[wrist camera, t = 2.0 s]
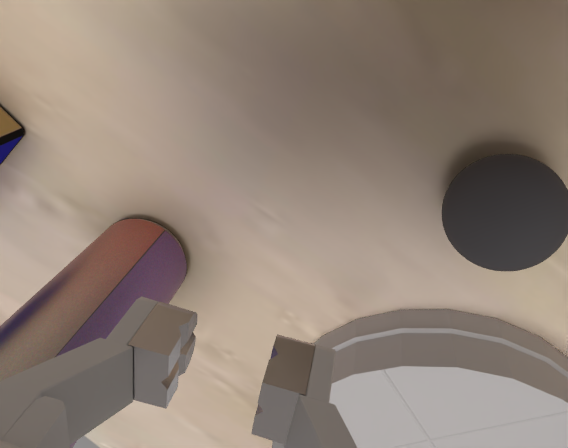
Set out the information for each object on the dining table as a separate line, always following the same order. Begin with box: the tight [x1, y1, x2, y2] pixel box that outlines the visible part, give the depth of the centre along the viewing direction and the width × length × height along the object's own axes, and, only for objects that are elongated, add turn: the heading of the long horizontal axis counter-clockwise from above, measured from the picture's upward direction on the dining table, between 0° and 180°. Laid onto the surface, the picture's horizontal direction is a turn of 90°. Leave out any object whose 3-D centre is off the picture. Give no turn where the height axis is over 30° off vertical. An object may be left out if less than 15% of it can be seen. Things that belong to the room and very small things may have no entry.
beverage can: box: [0, 219, 187, 448], centre depth 24 cm, size 6×6×15 cm
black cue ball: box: [442, 154, 568, 271], centre depth 21 cm, size 6×6×6 cm
